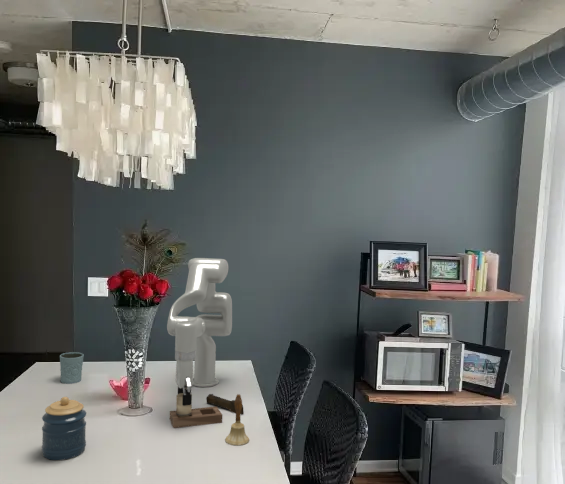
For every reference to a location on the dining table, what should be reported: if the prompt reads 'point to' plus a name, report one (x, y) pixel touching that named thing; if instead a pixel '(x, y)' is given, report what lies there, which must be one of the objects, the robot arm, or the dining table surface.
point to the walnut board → (197, 417)
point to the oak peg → (182, 407)
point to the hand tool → (222, 403)
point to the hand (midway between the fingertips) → (184, 400)
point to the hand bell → (237, 427)
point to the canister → (63, 430)
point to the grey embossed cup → (71, 367)
